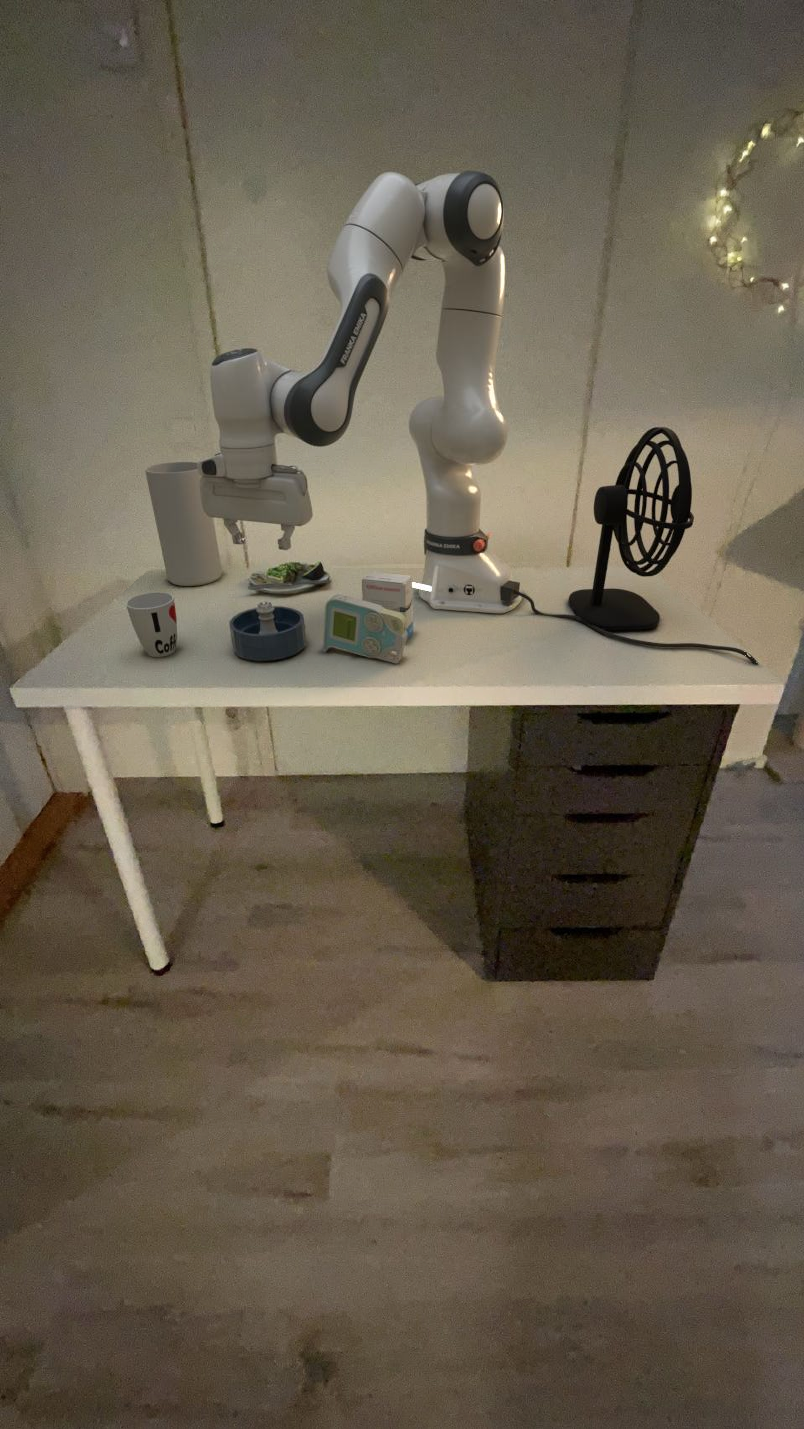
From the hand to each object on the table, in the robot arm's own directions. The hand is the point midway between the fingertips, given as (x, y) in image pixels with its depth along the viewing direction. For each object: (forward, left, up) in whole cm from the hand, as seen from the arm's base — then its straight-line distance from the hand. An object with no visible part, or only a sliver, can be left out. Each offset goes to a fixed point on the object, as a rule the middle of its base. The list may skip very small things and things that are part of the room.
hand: (261, 546), depth 114 cm
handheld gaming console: (-19, -1, -19) cm, 26 cm away
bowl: (-1, +2, -18) cm, 19 cm away
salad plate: (+14, -29, -19) cm, 37 cm away
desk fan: (-58, -38, -19) cm, 72 cm away
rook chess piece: (-1, +2, -18) cm, 18 cm away
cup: (+17, +11, -19) cm, 28 cm away
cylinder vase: (+37, -23, -19) cm, 48 cm away
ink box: (-19, -11, -19) cm, 29 cm away
